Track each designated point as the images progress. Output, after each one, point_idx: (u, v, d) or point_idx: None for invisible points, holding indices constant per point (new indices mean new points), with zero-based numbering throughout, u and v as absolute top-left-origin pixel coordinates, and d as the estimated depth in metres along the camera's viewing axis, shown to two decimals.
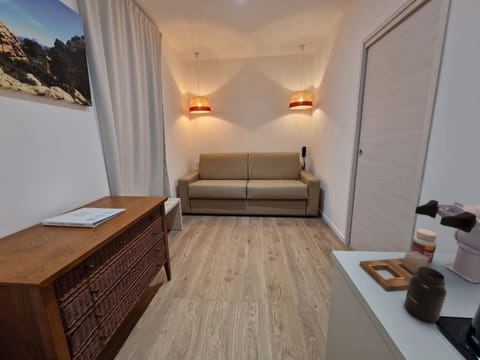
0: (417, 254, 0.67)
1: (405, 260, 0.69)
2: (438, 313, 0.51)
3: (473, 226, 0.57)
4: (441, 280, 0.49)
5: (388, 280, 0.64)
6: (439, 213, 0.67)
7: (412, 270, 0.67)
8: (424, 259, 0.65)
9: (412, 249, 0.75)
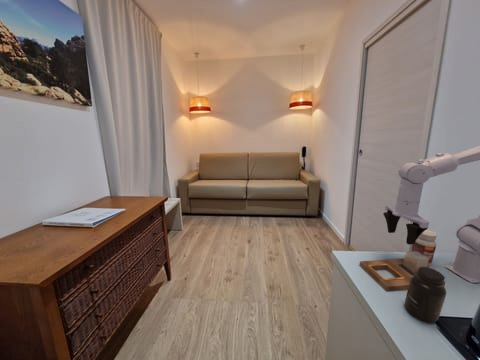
0: (417, 254, 0.67)
1: (405, 260, 0.69)
2: (438, 313, 0.51)
3: None
4: (441, 280, 0.49)
5: (388, 280, 0.64)
6: None
7: (412, 270, 0.67)
8: (424, 259, 0.65)
9: (412, 249, 0.75)
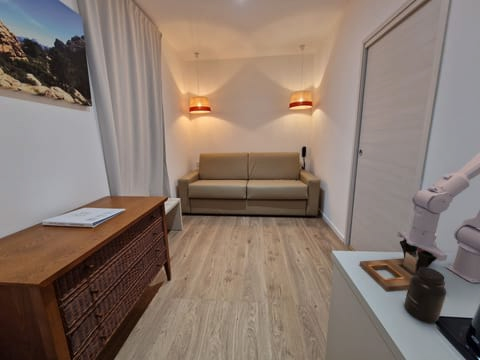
0: (417, 254, 0.67)
1: (405, 260, 0.69)
2: (438, 313, 0.51)
3: None
4: (441, 280, 0.49)
5: (388, 280, 0.64)
6: None
7: (412, 269, 0.67)
8: None
9: None
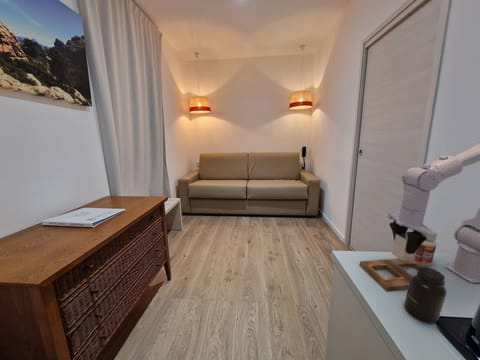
0: None
1: (395, 242, 0.67)
2: (438, 313, 0.51)
3: None
4: (441, 280, 0.49)
5: (388, 280, 0.64)
6: None
7: (402, 251, 0.64)
8: None
9: None
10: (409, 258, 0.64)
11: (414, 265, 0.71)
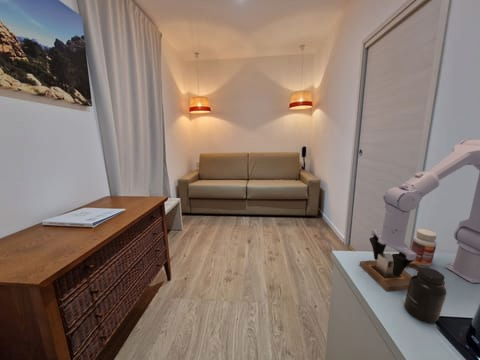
0: (389, 256, 0.66)
1: (378, 262, 0.68)
2: (438, 313, 0.51)
3: None
4: (441, 280, 0.49)
5: (388, 280, 0.64)
6: None
7: (384, 272, 0.65)
8: None
9: (412, 249, 0.75)
10: None
11: (414, 265, 0.71)
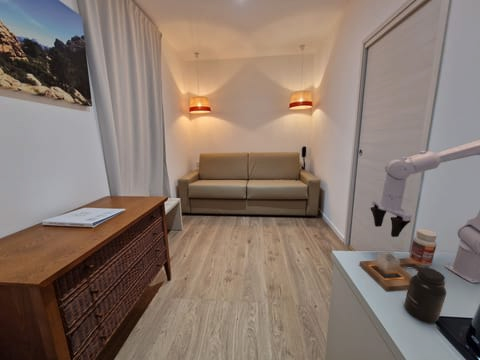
0: (389, 256, 0.66)
1: (378, 262, 0.68)
2: (438, 313, 0.51)
3: None
4: (441, 280, 0.49)
5: (388, 280, 0.64)
6: None
7: (384, 272, 0.65)
8: (395, 261, 0.64)
9: (412, 249, 0.75)
10: None
11: (414, 265, 0.71)
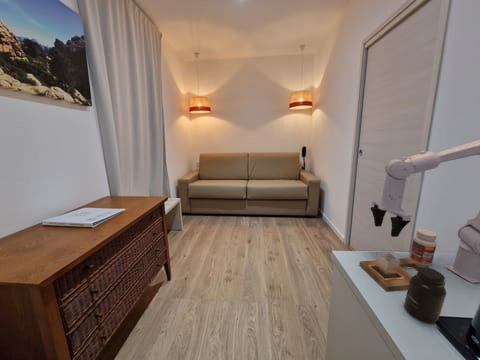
0: (389, 256, 0.66)
1: (378, 262, 0.68)
2: (438, 313, 0.51)
3: None
4: (441, 280, 0.49)
5: (388, 280, 0.64)
6: None
7: (384, 272, 0.65)
8: (395, 261, 0.64)
9: (412, 249, 0.75)
10: None
11: (414, 265, 0.71)
